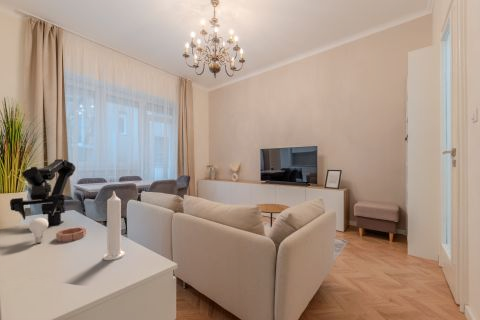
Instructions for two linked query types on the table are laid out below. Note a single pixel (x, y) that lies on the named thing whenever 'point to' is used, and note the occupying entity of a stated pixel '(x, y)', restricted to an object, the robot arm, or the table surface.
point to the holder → (70, 234)
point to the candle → (114, 229)
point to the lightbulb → (38, 228)
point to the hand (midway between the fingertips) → (38, 217)
